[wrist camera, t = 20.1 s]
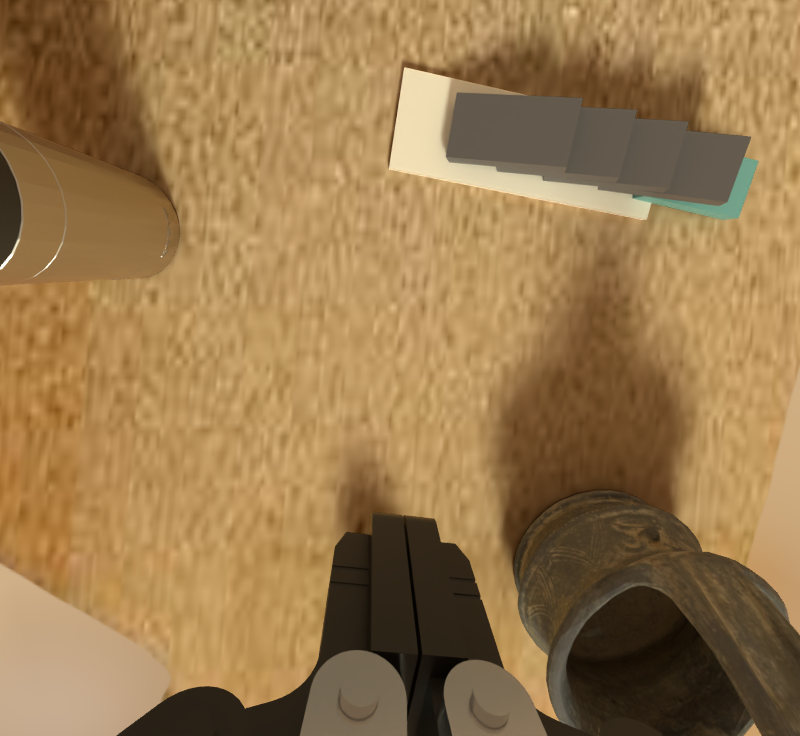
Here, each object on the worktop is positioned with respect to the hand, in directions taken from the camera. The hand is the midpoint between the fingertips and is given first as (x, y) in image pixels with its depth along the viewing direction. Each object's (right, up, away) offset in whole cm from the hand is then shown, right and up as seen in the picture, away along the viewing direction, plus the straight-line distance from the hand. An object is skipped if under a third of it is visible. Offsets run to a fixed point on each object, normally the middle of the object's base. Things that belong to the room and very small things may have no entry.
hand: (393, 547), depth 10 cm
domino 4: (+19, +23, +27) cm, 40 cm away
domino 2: (+9, +24, +26) cm, 37 cm away
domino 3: (+14, +24, +27) cm, 38 cm away
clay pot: (+23, -19, +39) cm, 49 cm away
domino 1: (+5, +25, +26) cm, 36 cm away
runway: (+12, +24, +28) cm, 39 cm away
